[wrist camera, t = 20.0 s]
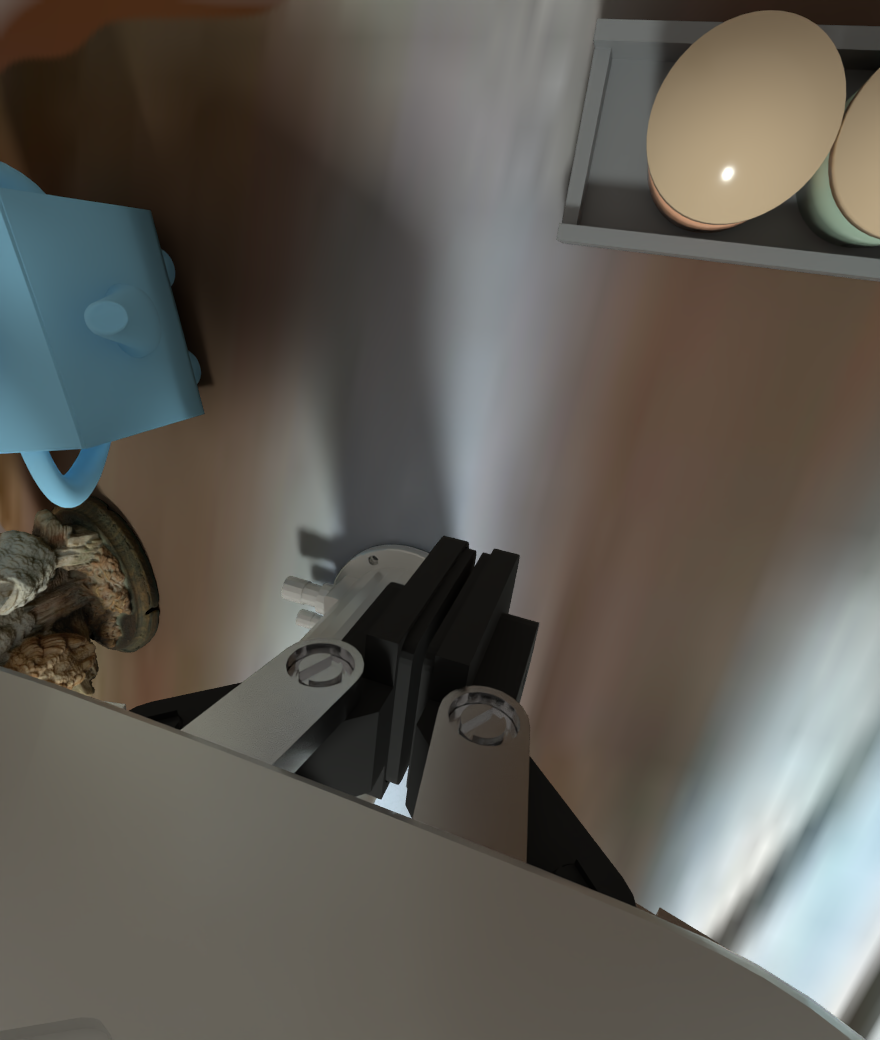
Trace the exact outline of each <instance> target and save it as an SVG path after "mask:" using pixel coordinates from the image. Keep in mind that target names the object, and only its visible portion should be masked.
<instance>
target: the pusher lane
mask: <svg viewBox="0 0 880 1040" xmlns="http://www.w3.org/2000/svg"><path fill="white" fill-rule="evenodd" d="M722 23H724V22H700V21H663V20H627V19H597V23H596V29H595V34H594V39H593V41H594V46H595V49H594V55H593V60H592V65H591V71H590V76H589V81H588V87H587V92H586V97H585V103H584V108H583V113H582V119H581V124H580V129H579V135H578V140H577V145H576V151H575V156H574V161H573V167H572V172H571V177H570V183H569V188H568V193H567V199H566V204H565V209H564V215H563V220H562V223H559V228H558V233H557V239H556V240H558V241H560V242H561V243H565V244H573V245H581V246H590V247H598V248H606V249H614V250H623V251H631V252H639V253H648V254H656V255H664V256H672V257H681V258H689V259H697V260H706V261H714V262H722V263H730V264H739V265H747V266H755V267H764V268H772V269H780V270H788V271H797V272H805V273H813V274H822V275H830V276H838V277H846V278H855V279H863V280H871V281H879V282H880V246H876V247H870V248H846V247H841V246H837V245H834V244H831V243H829V242H827V241H825V240H823V239H821V238H820V237H819V236H817V235H816V234H815V233H814V232H813V231H812V230H811V229H810V228H809V227H808V226H807V224H806V223H805V221H804V220H803V218H802V216H801V214H800V211H799V208H798V204H797V199H796V193H795V194H794V195H793V196H791V197H790V198H789V199H787V200H786V201H784V202H783V203H782V204H780V205H779V206H777V207H775V208H773V209H772V210H770V211H768V212H766V213H764V214H762V215H760V216H758V217H755V218H753V219H750V220H748V221H746V222H744V223H743V224H741V225H739V226H736V227H734V228H731V229H729V230H725V231H721V232H715V233H696V232H691V231H687V230H684V229H682V228H679V227H677V226H675V225H674V224H672V223H671V222H669V221H668V220H667V219H666V218H665V217H664V216H663V215H662V214H661V212H660V211H659V210H658V209H657V207H656V205H655V203H654V202H653V199H652V197H651V194H650V191H649V186H648V180H647V153H646V145H647V130H648V123H649V118H650V114H651V110H652V107H653V104H654V101H655V99H656V96H657V93H658V91H659V89H660V87H661V85H662V83H663V81H664V80H665V78H666V76H667V75H668V73H669V72H670V70H671V68H672V67H673V66H674V65H675V63H676V62H677V61H678V59H679V58H680V57H681V56H682V55H683V54H684V52H685V51H686V50H687V49H688V48H689V47H690V46H691V45H692V44H693V43H695V42H696V41H697V40H698V39H699V38H700V37H702V36H703V35H704V34H706V33H707V32H709V31H710V30H712V29H713V28H714V27H716V26H718V25H720V24H722ZM818 26H819V27H820V28H821V29H822V30H823V31H824V32H825V33H826V34H827V35H828V36H829V38H830V39H831V40H832V42H833V43H834V45H835V47H836V49H837V51H838V53H839V55H840V57H841V61H842V64H843V67H844V72H845V79H846V100H847V99H849V98H850V97H851V96H852V95H853V94H854V93H855V92H856V91H858V90H859V89H860V88H861V87H862V86H863V84H864V83H865V82H866V81H867V80H868V78H869V77H871V76H872V75H873V74H874V73H875V72H876V71H877V70H878V69H879V68H880V26H845V25H818Z"/></svg>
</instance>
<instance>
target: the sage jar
mask: <svg viewBox="0 0 880 1040" xmlns="http://www.w3.org/2000/svg"><path fill="white" fill-rule="evenodd" d="M796 199H797V204H798V208H799V211H800V214H801V216H802V218H803V220H804V221H805V223H806V224H807V226H808V227H809V228H810V229H811V230H812V231H813V232H814V233H815V234H816V235H817V236H819V237H820V238H821V239H823V240H825V241H827V242H829V243H831V244H834V245H837V246H841V247H846V248H870V247H876V246H880V68H879V69H878V70H877V71H876V72H875V73H874V74H873V75H872V76H871V77H869V78H868V80H867V81H866V82H865V83H864V84H863V86H862V87H861V88H860V89H859V90H858V91H856V92H855V93H854V94H853V95H852V96H851V97H850V98H849V99H847V100H846V101H845V109H844V114H843V118H842V122H841V126H840V129H839V131H838V134H837V137H836V139H835V141H834V143H833V145H832V147H831V149H830V151H829V153H828V155H827V157H826V158H825V160H824V161H823V163H822V164H821V166H820V167H819V168H818V170H817V171H816V172H815V174H814V175H813V176H812V177H811V179H810V180H809V181H808V182H807V183H806V184H805V185H804V186H803V187H802V188H801V189H800V190H798V191H797V192H796Z"/></svg>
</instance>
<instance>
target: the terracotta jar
mask: <svg viewBox="0 0 880 1040" xmlns="http://www.w3.org/2000/svg"><path fill="white" fill-rule="evenodd" d="M845 101H846V79H845V72H844V67H843V64H842V61H841V57H840V55H839V53H838V51H837V49H836V47H835V45H834V43H833V42H832V40H831V39H830V38H829V36H828V35H827V34H826V33H825V32H824V31H823V30H822V29H821V28H820V27H819V26H818V25H816V24H815V23H813V22H812V21H810V20H809V19H807V18H805V17H802V16H800V15H797V14H795V13H790V12H786V11H776V10H766V11H755V12H751V13H747V14H743V15H740V16H737V17H735V18H732V19H730V20H727V21H726V22H724V23H722V24H720V25H718V26H716V27H714V28H713V29H712V30H710V31H709V32H707V33H706V34H704V35H703V36H702V37H700V38H699V39H698V40H697V41H696V42H695V43H693V44H692V45H691V46H690V47H689V48H688V49H687V50H686V51H685V52H684V54H683V55H682V56H681V57H680V58H679V59H678V61H677V62H676V63H675V65H674V66H673V67H672V68H671V70H670V72H669V73H668V75H667V76H666V78H665V80H664V81H663V83H662V85H661V87H660V89H659V91H658V93H657V96H656V99H655V101H654V104H653V107H652V110H651V114H650V118H649V123H648V130H647V145H646V153H647V180H648V186H649V191H650V194H651V197H652V199H653V202H654V203H655V205H656V207H657V209H658V210H659V211H660V212H661V214H662V215H663V216H664V217H665V218H666V219H667V220H668V221H669V222H671V223H672V224H674V225H675V226H677V227H679V228H682V229H684V230H687V231H691V232H696V233H715V232H721V231H725V230H729V229H731V228H734V227H736V226H739V225H741V224H743V223H744V222H746V221H748V220H750V219H753V218H755V217H758V216H760V215H762V214H764V213H766V212H768V211H770V210H772V209H773V208H775V207H777V206H779V205H780V204H782V203H783V202H784V201H786V200H787V199H789V198H790V197H791V196H793V195H794V194H795V193H796V192H797V191H798V190H800V189H801V188H802V187H803V186H804V185H805V184H806V183H807V182H808V181H809V180H810V179H811V177H812V176H813V175H814V174H815V172H816V171H817V170H818V168H819V167H820V166H821V164H822V163H823V161H824V160H825V158H826V157H827V155H828V153H829V151H830V149H831V147H832V145H833V143H834V141H835V139H836V137H837V134H838V131H839V129H840V126H841V122H842V118H843V114H844V109H845Z"/></svg>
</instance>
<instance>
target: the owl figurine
mask: <svg viewBox="0 0 880 1040" xmlns="http://www.w3.org/2000/svg"><path fill="white" fill-rule="evenodd" d="M106 507H108V506H107V505H106V504H105V503H104V502H103V501H101V500H99V499H98V498H95V497H92V496H89V497H88V498H87V499H86V500H85V501H84V502H83V503H82V504H80V505H78V506H76V507H73V508H64V507H60V506H58V505H55V507H54V508H53V510H52V511H49V510H47V509H45V510H41V511H39V512H37V514H36V516H35V520H34V527H33V531H32V534H29V533H26V532H20V531H16V530H12V531H6V532H4V533H0V666H1V667H4V668H7V669H11V670H14V671H17V672H20V673H23V674H26V675H29V676H32V677H35V678H38V679H41V680H44V681H47V682H50V683H54V684H56V685H59V686H62V687H65V688H67V689H70V690H73V691H76V692H78V693H81V694H84V695H87V696H91V695H92V694H94V692H95V689H94V687H92V682H91V680H92V679H94V678H95V677H96V675H97V672H98V668H99V667H98V663H97V660H96V658H97V656H96V653H95V648H96V647H95V645H94V644H93V643H92V642H90V641H91V640H90V639H92V640H95V641H96V642H97V643H99V644H101V645H102V646H104V647H106V648H108V649H112V650H118V651H120V652H135V651H137V650H138V649H140V648H142V647H143V646H145V645H146V644H147V643H148V642H150V640H151V639H152V638H153V636H154V635H155V633H156V631H157V628H158V617H159V610H154V611H153V612H151V613H150V614H148V615H145V613H146V612H147V611H148V610H149V609H150V608H151V607H153V608H155V607H157V606H158V600H159V594H158V590H157V586H156V583H155V579H154V576H153V573H152V569H151V566H150V563H149V561H148V559H147V557H146V555H145V553H144V551H143V549H142V547H141V545H140V543H139V541H138V540H137V538H136V536H135V535H134V533H133V532H132V530H131V529H130V528H129V526H128V525H127V524H126V523H125V522H124V520H123V519H122V518H121V517H120V516H119V515H118V514H116V513H115V512H113V511H109V510H108V509H107V508H106Z"/></svg>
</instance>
